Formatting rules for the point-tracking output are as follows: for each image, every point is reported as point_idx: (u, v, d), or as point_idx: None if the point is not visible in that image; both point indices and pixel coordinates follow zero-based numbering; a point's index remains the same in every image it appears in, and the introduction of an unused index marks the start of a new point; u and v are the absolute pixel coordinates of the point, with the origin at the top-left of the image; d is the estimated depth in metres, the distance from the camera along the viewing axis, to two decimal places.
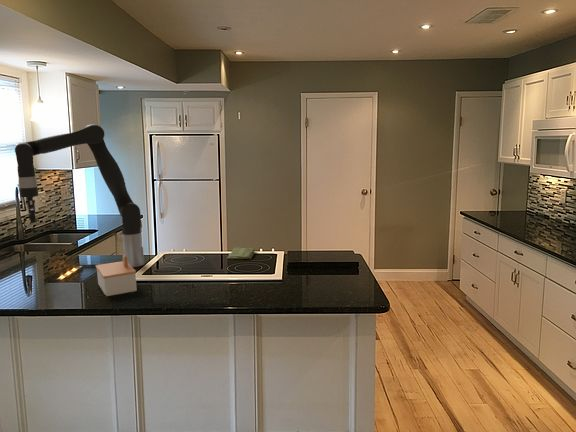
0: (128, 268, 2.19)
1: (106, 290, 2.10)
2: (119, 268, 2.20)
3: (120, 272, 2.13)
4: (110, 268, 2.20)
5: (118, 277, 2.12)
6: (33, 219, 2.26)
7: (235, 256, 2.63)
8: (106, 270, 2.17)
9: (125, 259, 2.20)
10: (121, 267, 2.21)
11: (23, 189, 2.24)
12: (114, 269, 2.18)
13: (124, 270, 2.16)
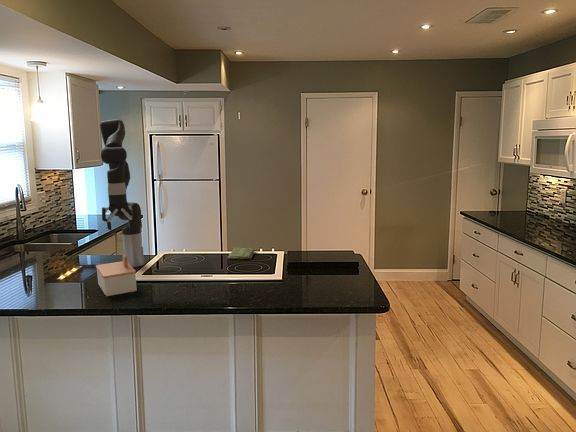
0: (128, 268, 2.19)
1: (106, 290, 2.10)
2: (119, 268, 2.20)
3: (120, 272, 2.13)
4: (110, 268, 2.20)
5: (118, 277, 2.12)
6: None
7: (235, 256, 2.64)
8: (106, 270, 2.17)
9: (125, 259, 2.20)
10: (121, 267, 2.21)
11: (125, 195, 2.16)
12: (114, 269, 2.18)
13: (124, 270, 2.16)
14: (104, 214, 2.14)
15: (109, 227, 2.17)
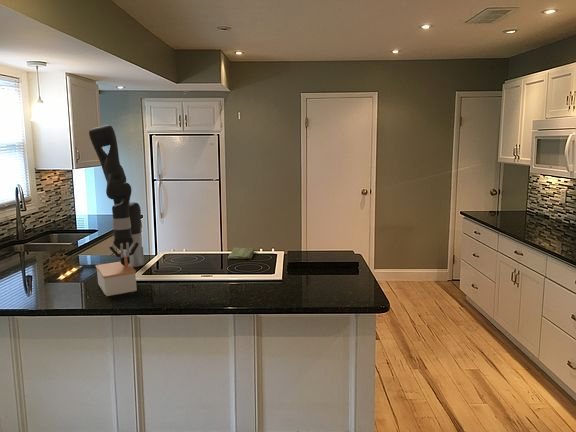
0: (128, 268, 2.19)
1: (106, 290, 2.10)
2: (119, 268, 2.20)
3: (120, 272, 2.14)
4: (110, 268, 2.20)
5: (118, 277, 2.12)
6: None
7: (235, 256, 2.64)
8: (106, 270, 2.17)
9: (125, 259, 2.20)
10: (121, 267, 2.21)
11: (130, 229, 2.19)
12: (114, 269, 2.18)
13: (124, 270, 2.16)
14: (114, 251, 2.18)
15: (122, 262, 2.21)
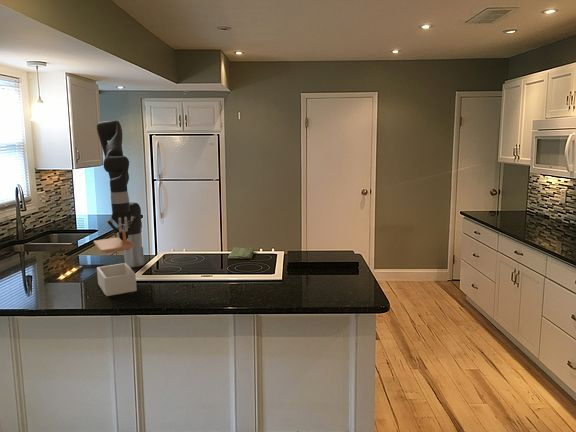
0: (127, 243, 2.17)
1: (106, 290, 2.10)
2: (117, 243, 2.18)
3: (119, 246, 2.11)
4: (108, 243, 2.18)
5: (118, 277, 2.12)
6: (127, 236, 2.21)
7: (235, 256, 2.64)
8: (104, 245, 2.15)
9: (123, 234, 2.18)
10: (119, 242, 2.19)
11: (128, 203, 2.17)
12: (112, 244, 2.16)
13: (123, 245, 2.14)
14: (112, 226, 2.16)
15: (121, 237, 2.19)
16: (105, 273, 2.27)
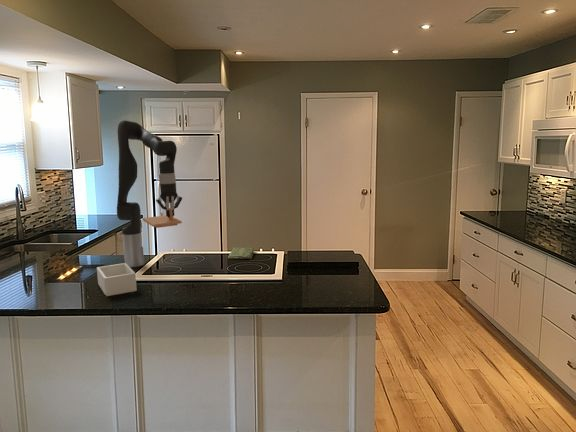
0: (173, 219, 2.39)
1: (106, 290, 2.10)
2: (165, 219, 2.40)
3: (167, 222, 2.33)
4: (157, 219, 2.40)
5: (118, 277, 2.12)
6: None
7: (236, 256, 2.64)
8: (154, 221, 2.37)
9: (170, 211, 2.40)
10: (167, 219, 2.41)
11: (175, 184, 2.39)
12: (161, 220, 2.38)
13: (171, 221, 2.36)
14: (161, 204, 2.38)
15: (168, 214, 2.41)
16: (105, 273, 2.27)
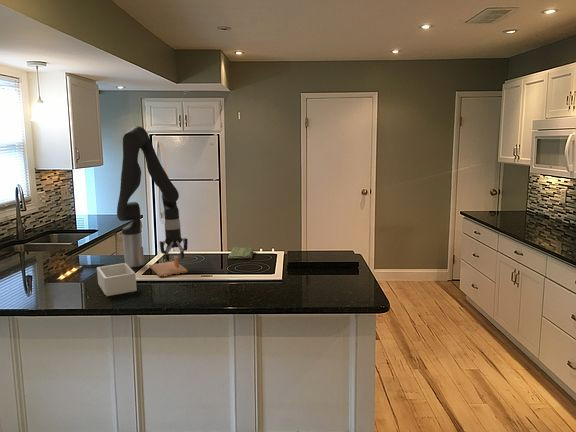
0: (179, 267, 2.45)
1: (106, 290, 2.10)
2: (171, 267, 2.45)
3: (173, 271, 2.39)
4: (163, 267, 2.45)
5: (118, 277, 2.12)
6: None
7: (236, 256, 2.64)
8: (160, 269, 2.43)
9: (177, 259, 2.46)
10: (173, 267, 2.47)
11: (179, 229, 2.44)
12: (167, 268, 2.44)
13: (177, 270, 2.41)
14: (162, 247, 2.42)
15: (167, 258, 2.45)
16: (105, 273, 2.27)
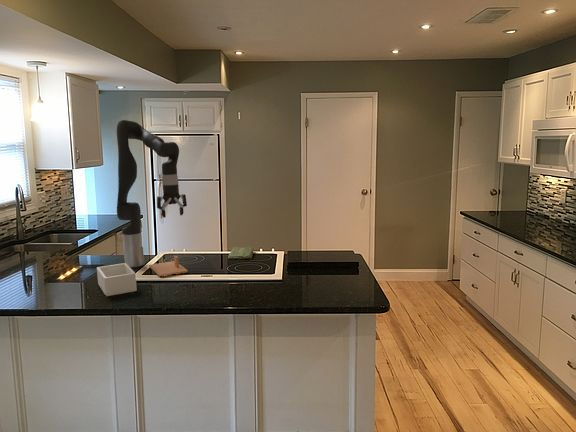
0: (179, 267, 2.45)
1: (106, 290, 2.10)
2: (171, 267, 2.45)
3: (174, 271, 2.39)
4: (163, 267, 2.45)
5: (118, 277, 2.12)
6: None
7: (236, 256, 2.64)
8: (160, 269, 2.43)
9: (177, 259, 2.46)
10: (173, 267, 2.47)
11: (177, 185, 2.40)
12: (167, 268, 2.44)
13: (177, 270, 2.41)
14: (159, 202, 2.38)
15: (163, 214, 2.40)
16: (105, 273, 2.27)
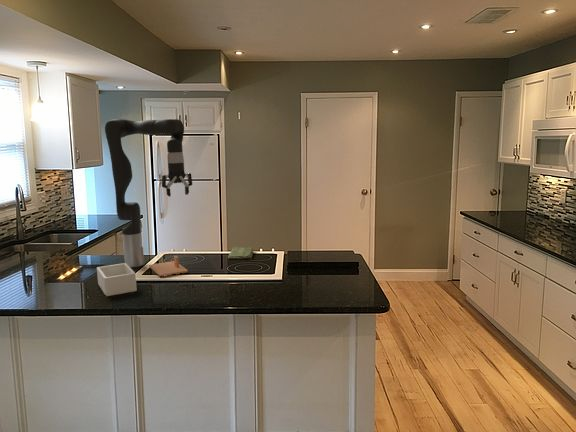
0: (179, 267, 2.45)
1: (106, 290, 2.10)
2: (171, 267, 2.45)
3: (174, 271, 2.39)
4: (163, 267, 2.45)
5: (118, 277, 2.12)
6: None
7: (236, 256, 2.64)
8: (160, 269, 2.43)
9: (177, 259, 2.46)
10: (173, 267, 2.47)
11: (183, 163, 2.34)
12: (167, 268, 2.44)
13: (177, 270, 2.41)
14: (164, 181, 2.32)
15: (168, 193, 2.34)
16: (105, 273, 2.27)
